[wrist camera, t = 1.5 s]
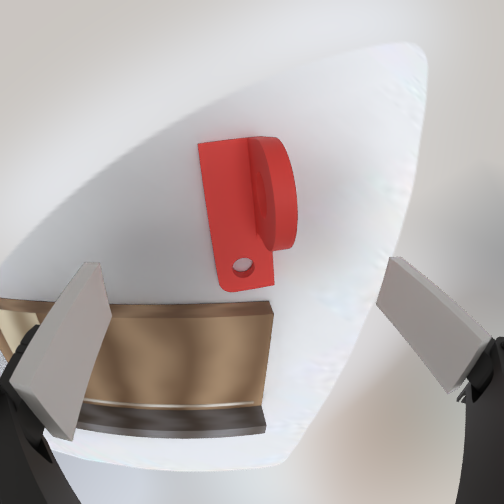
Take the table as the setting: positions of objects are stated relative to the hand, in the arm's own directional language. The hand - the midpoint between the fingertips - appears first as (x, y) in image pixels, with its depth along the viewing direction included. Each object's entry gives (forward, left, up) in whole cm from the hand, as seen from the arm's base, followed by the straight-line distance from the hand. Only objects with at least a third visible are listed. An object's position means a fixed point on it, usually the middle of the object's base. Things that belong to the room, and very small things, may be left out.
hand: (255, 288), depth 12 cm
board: (-12, -16, -11) cm, 23 cm away
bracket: (+1, 0, -11) cm, 11 cm away
